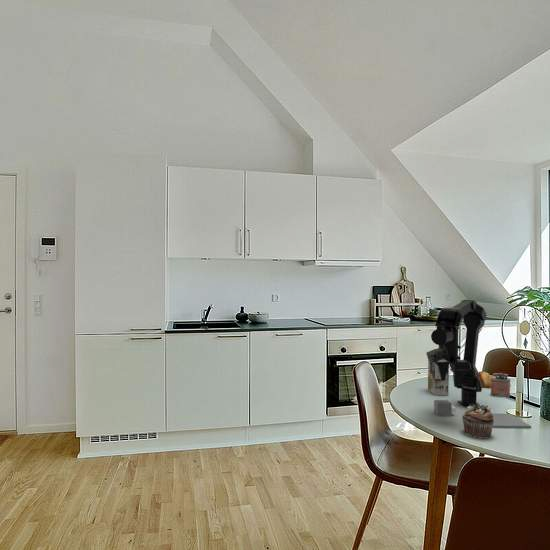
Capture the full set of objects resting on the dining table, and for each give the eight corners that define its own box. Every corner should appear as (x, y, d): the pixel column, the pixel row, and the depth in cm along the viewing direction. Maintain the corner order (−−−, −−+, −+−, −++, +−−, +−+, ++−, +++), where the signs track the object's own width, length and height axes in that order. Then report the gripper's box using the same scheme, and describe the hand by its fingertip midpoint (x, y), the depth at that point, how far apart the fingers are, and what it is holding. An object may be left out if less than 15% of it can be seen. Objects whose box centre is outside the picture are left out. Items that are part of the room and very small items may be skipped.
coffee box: (449, 395, 188) (449, 358, 188) (434, 395, 188) (434, 358, 188) (441, 390, 197) (442, 354, 197) (427, 389, 197) (427, 354, 197)
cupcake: (497, 433, 144) (497, 403, 144) (488, 441, 137) (489, 410, 137) (467, 426, 150) (467, 397, 150) (457, 433, 143) (458, 403, 143)
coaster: (476, 415, 162) (476, 413, 162) (510, 415, 162) (510, 413, 162) (493, 427, 149) (494, 425, 149) (531, 428, 149) (531, 425, 149)
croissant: (510, 395, 203) (511, 378, 206) (510, 389, 195) (511, 372, 199) (462, 387, 214) (463, 371, 217) (460, 381, 206) (461, 365, 209)
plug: (433, 413, 164) (434, 400, 164) (452, 413, 164) (452, 400, 164) (437, 416, 161) (437, 402, 161) (456, 416, 161) (456, 403, 161)
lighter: (508, 395, 190) (508, 372, 190) (511, 397, 187) (512, 374, 187) (489, 394, 191) (489, 372, 191) (492, 396, 188) (492, 373, 188)
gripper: (418, 338, 169) (417, 377, 169) (442, 346, 150) (441, 391, 151) (444, 338, 170) (444, 377, 170) (472, 346, 152) (471, 390, 152)
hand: (449, 383), depth 161 cm, fingers open, 9 cm apart
